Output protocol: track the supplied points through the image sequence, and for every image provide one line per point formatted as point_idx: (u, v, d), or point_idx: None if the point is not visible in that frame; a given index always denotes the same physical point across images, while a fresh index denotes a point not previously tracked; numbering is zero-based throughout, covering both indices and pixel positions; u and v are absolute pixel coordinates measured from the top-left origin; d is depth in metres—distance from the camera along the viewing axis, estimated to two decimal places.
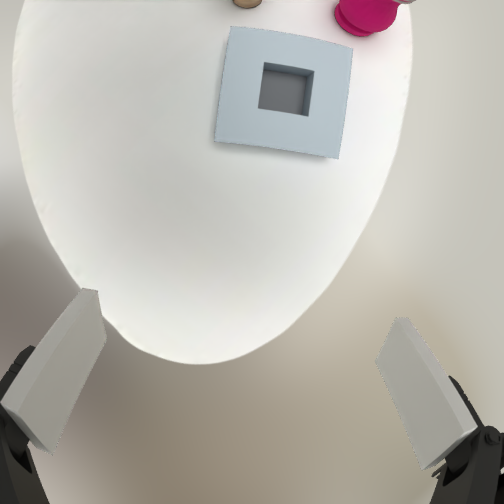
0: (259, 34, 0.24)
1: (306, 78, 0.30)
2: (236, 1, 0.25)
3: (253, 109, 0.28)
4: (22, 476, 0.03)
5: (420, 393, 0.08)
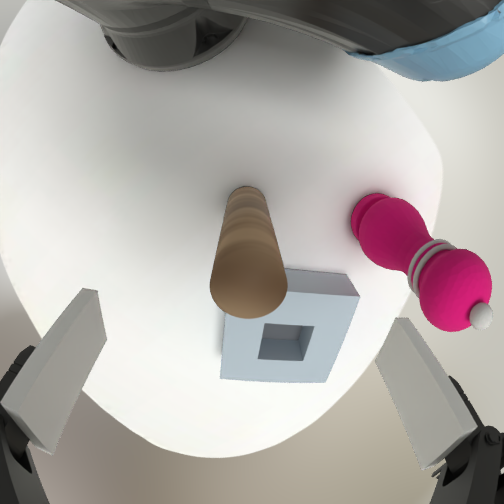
0: None
1: None
2: None
3: (253, 360, 0.32)
4: (22, 476, 0.03)
5: (420, 393, 0.08)
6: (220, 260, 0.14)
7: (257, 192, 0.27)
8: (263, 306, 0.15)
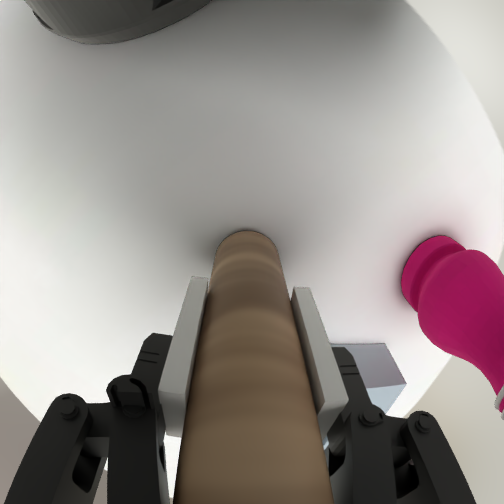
0: None
1: None
2: None
3: None
4: (162, 478, 0.05)
5: None
6: None
7: (265, 244, 0.16)
8: None
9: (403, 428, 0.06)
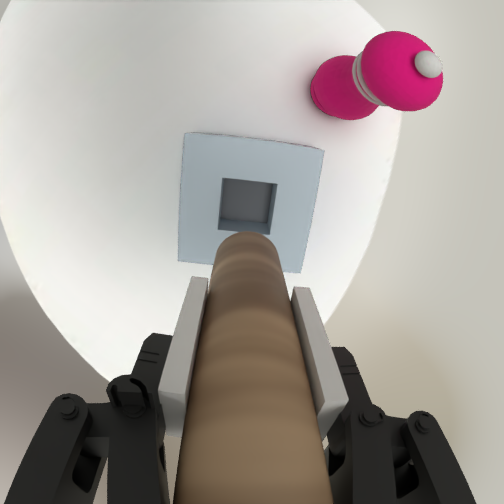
0: (216, 143, 0.26)
1: None
2: None
3: (213, 230, 0.30)
4: (163, 478, 0.05)
5: None
6: None
7: (265, 245, 0.16)
8: None
9: (403, 428, 0.06)
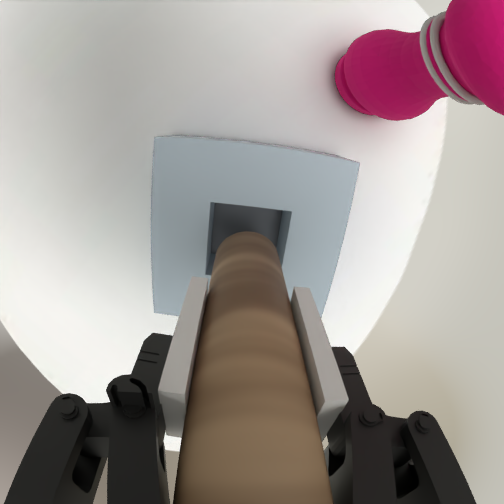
0: (201, 150, 0.18)
1: None
2: None
3: (199, 276, 0.21)
4: (163, 478, 0.05)
5: None
6: None
7: (265, 245, 0.16)
8: None
9: (403, 428, 0.06)
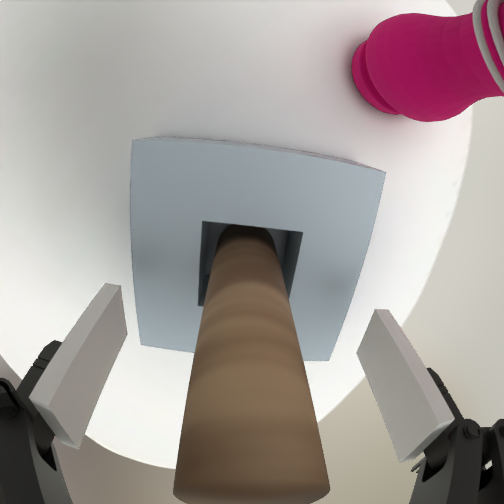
0: (189, 156, 0.14)
1: None
2: None
3: (191, 307, 0.18)
4: (47, 474, 0.04)
5: (397, 384, 0.09)
6: (188, 472, 0.05)
7: (262, 233, 0.18)
8: None
9: (490, 430, 0.06)
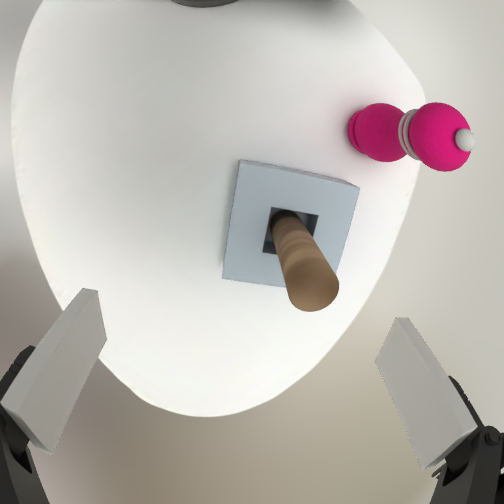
0: (268, 175, 0.30)
1: None
2: None
3: (258, 253, 0.34)
4: (22, 476, 0.03)
5: (420, 393, 0.08)
6: (297, 271, 0.21)
7: (296, 215, 0.34)
8: (321, 302, 0.22)
9: None
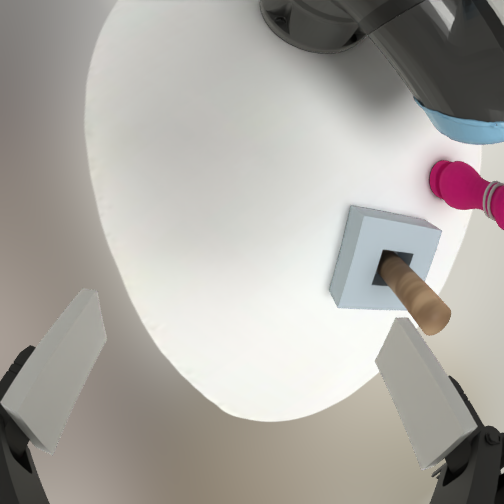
0: (383, 224, 0.35)
1: None
2: None
3: (368, 286, 0.39)
4: (22, 476, 0.03)
5: (420, 393, 0.08)
6: (430, 310, 0.26)
7: (395, 253, 0.39)
8: (438, 328, 0.26)
9: None
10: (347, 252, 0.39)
